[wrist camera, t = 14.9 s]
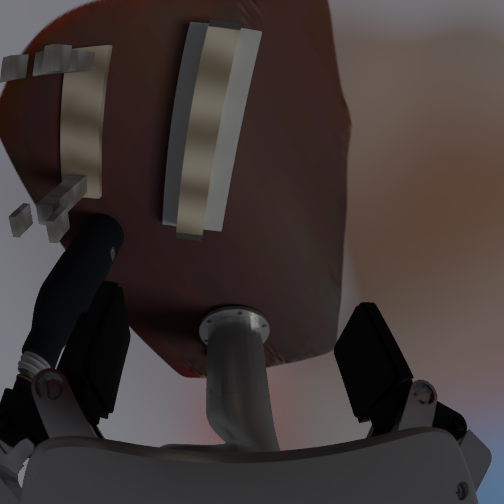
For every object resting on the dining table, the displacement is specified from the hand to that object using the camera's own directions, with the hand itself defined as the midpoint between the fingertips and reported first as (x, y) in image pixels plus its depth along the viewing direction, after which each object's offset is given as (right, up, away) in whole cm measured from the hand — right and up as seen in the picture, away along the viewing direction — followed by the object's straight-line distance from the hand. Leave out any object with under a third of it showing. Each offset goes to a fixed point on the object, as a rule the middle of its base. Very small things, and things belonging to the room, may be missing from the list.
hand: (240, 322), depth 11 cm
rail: (-5, +16, +19) cm, 26 cm away
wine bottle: (-21, +5, +26) cm, 34 cm away
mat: (-5, +17, +19) cm, 26 cm away
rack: (-21, +19, +17) cm, 32 cm away
